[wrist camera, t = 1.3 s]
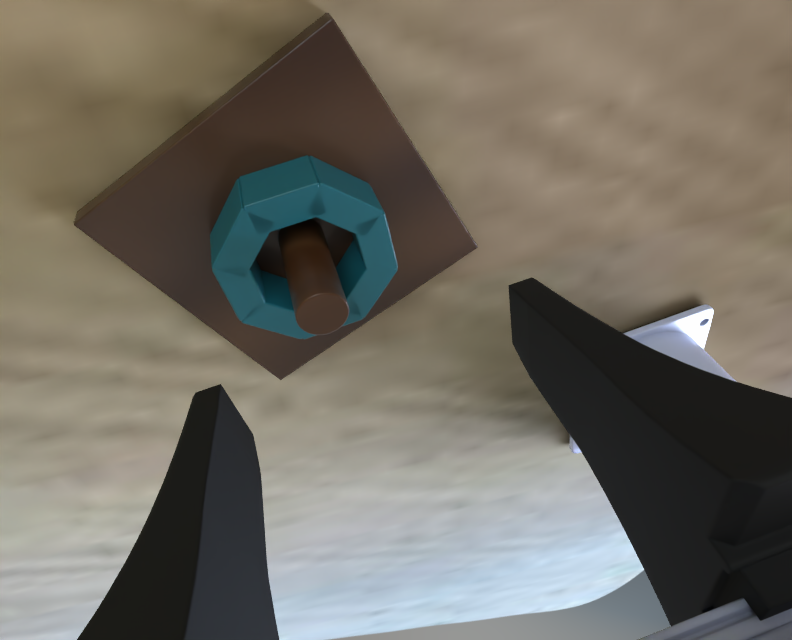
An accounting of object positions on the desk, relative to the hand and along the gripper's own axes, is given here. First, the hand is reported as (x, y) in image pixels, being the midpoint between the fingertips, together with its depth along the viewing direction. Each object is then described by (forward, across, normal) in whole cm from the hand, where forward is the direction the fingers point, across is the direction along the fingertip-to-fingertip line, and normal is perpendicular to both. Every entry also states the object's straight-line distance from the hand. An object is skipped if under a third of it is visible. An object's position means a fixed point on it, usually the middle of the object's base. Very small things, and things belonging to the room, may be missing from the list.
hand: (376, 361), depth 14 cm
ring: (+8, +1, +1) cm, 8 cm away
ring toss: (+8, +1, +1) cm, 9 cm away
